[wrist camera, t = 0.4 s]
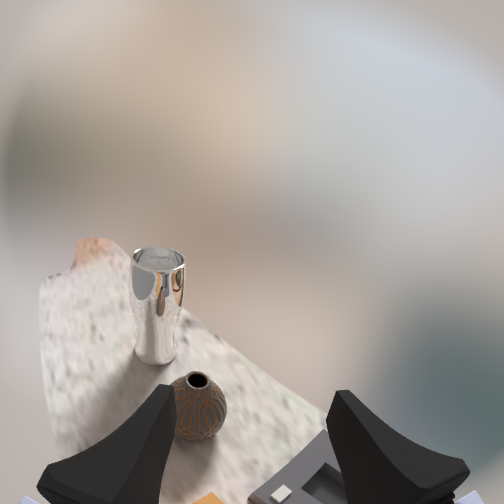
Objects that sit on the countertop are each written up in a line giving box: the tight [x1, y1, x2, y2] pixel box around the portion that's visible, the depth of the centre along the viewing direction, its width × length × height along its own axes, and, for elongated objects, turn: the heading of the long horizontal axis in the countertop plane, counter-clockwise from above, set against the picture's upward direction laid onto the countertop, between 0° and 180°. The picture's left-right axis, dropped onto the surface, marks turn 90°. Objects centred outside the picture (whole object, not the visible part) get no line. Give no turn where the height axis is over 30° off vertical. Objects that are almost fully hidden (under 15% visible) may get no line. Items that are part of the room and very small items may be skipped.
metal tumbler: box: [129, 246, 186, 366], centre depth 34 cm, size 7×7×15 cm
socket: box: [248, 429, 348, 504], centre depth 20 cm, size 12×12×3 cm
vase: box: [170, 371, 227, 441], centre depth 25 cm, size 7×7×9 cm
